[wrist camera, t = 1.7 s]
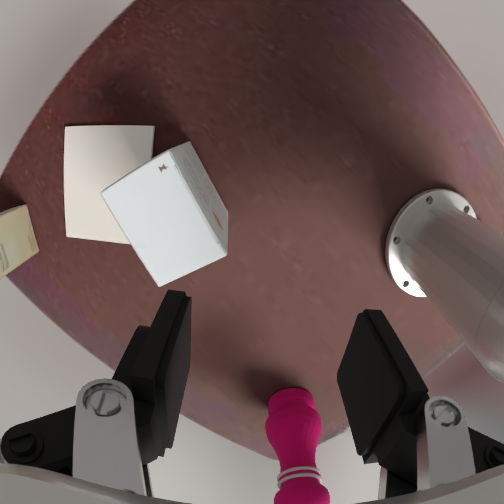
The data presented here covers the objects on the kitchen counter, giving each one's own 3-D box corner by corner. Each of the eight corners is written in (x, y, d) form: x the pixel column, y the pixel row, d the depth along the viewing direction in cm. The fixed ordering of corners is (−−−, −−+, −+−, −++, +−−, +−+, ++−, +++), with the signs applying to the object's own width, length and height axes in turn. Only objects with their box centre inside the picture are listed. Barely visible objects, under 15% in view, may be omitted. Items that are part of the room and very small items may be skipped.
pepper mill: (327, 396, 40) (355, 523, 21) (293, 422, 42) (306, 542, 24) (287, 377, 38) (303, 520, 20) (253, 406, 41) (254, 537, 22)
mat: (154, 125, 27) (153, 125, 27) (149, 244, 32) (148, 246, 31) (67, 126, 27) (65, 126, 26) (68, 235, 31) (66, 236, 31)
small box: (140, 168, 28) (96, 190, 19) (191, 139, 28) (167, 146, 18) (180, 238, 31) (157, 290, 21) (230, 213, 31) (228, 257, 21)
